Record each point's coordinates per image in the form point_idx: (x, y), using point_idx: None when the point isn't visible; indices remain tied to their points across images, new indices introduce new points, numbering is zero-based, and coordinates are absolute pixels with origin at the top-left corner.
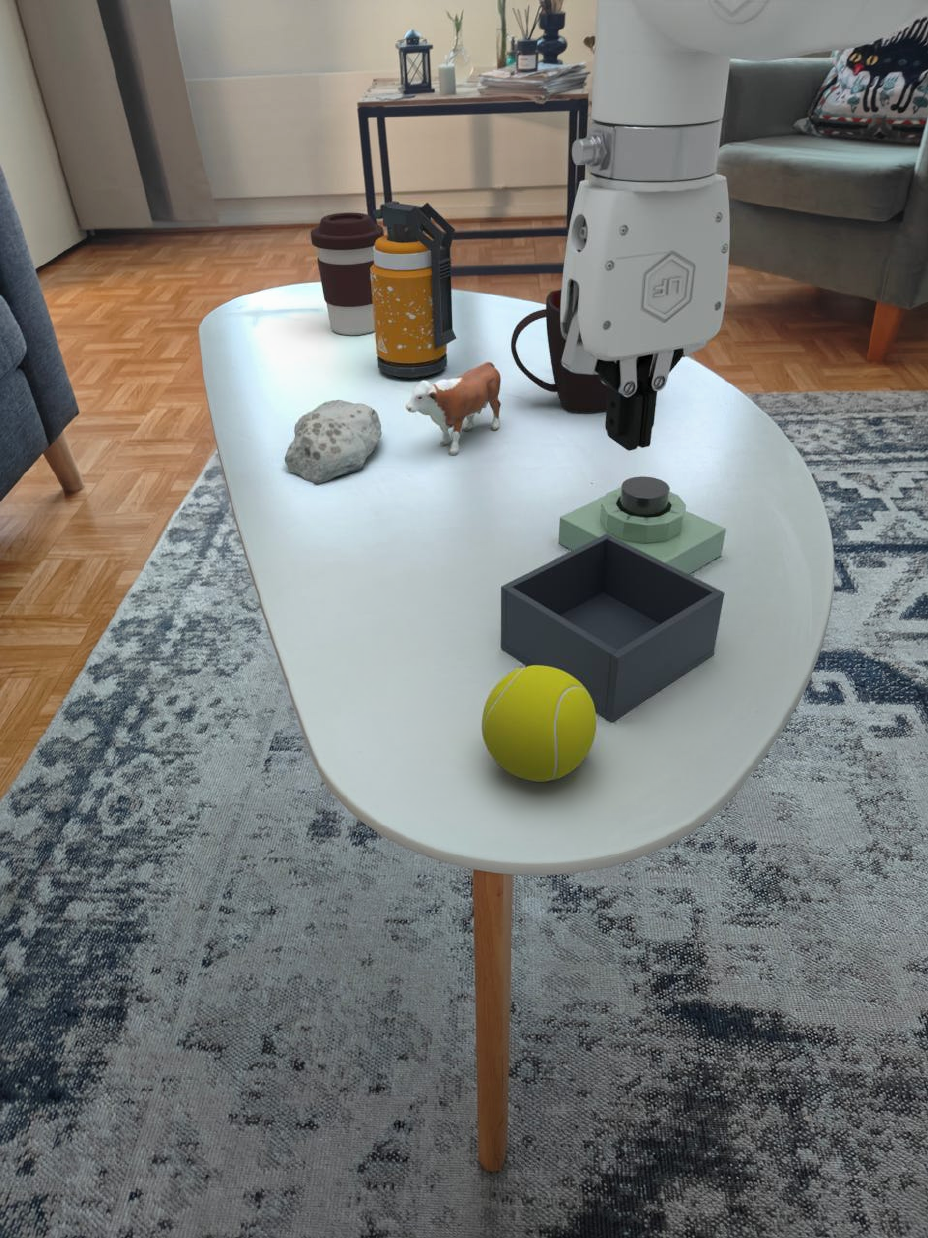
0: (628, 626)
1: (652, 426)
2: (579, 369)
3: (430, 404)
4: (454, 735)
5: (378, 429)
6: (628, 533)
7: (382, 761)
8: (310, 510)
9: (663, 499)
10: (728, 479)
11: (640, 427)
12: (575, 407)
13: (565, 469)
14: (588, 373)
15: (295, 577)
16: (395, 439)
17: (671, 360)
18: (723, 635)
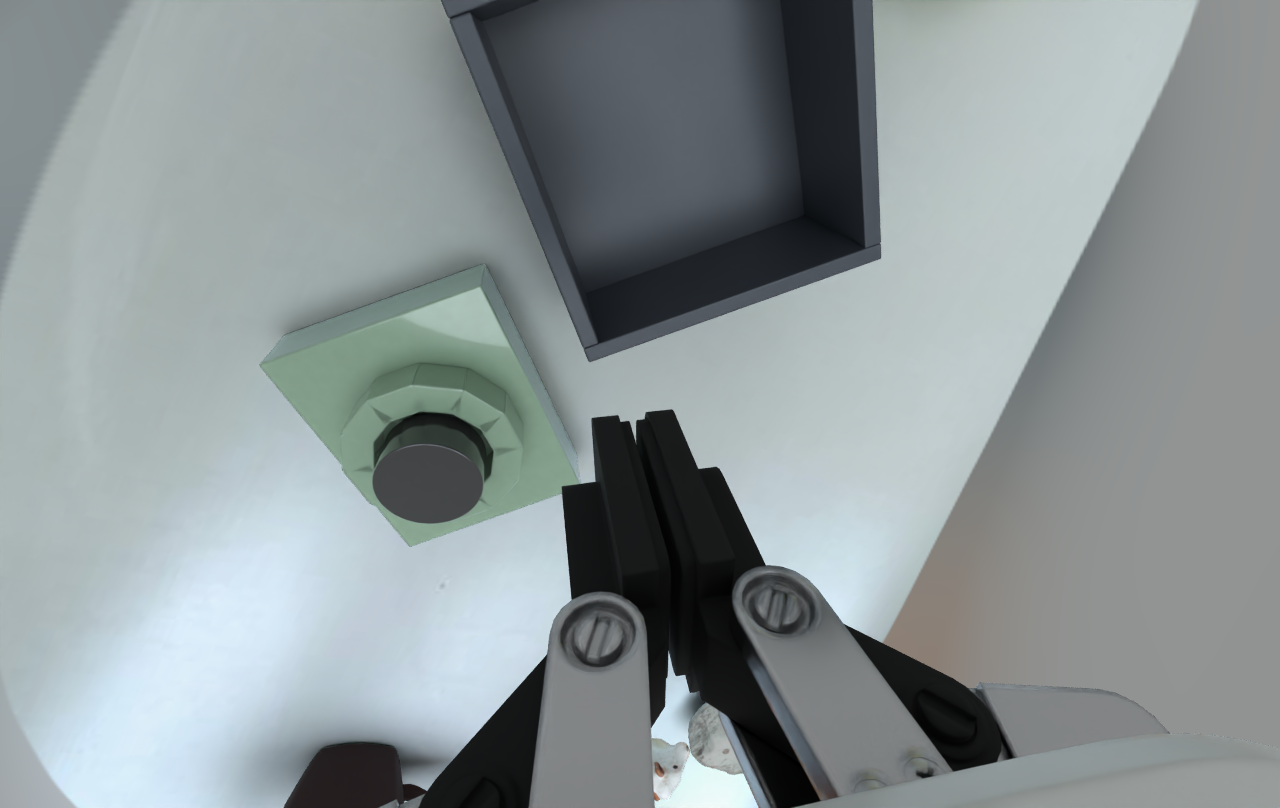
0: (595, 171)
1: (563, 487)
2: (1088, 709)
3: (657, 755)
4: (1009, 21)
5: (698, 722)
6: (497, 394)
7: (1125, 14)
8: (838, 594)
9: (403, 441)
10: (164, 554)
11: (653, 462)
12: (383, 753)
13: (467, 624)
14: (1018, 688)
15: (936, 473)
16: (664, 709)
17: (535, 764)
18: (403, 68)
